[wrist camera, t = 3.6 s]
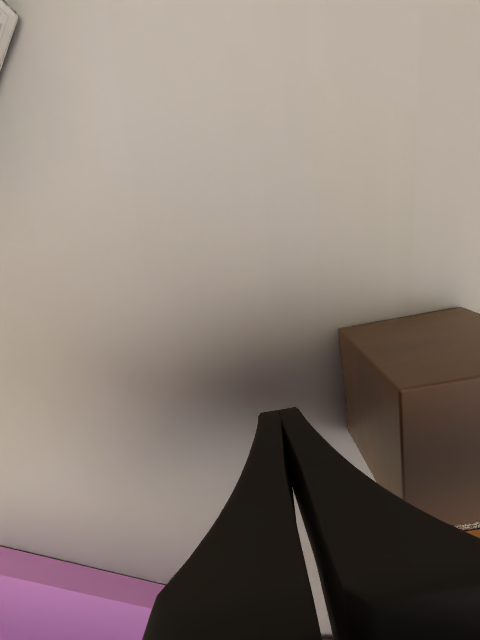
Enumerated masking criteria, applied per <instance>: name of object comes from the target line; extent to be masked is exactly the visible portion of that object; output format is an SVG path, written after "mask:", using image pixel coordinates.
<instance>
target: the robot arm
mask: <svg viewBox="0 0 480 640" xmlns="http://www.w3.org/2000/svg"><path fill="white" fill-rule="evenodd" d="M292 487H293V489H292ZM293 490H294V494H295V497H296V500H297V503H298V506H299V509H300V513H301V516H302V519H303V522H304V525H305V528H306V532H307V535H308V538H309V541H310V544H311V547H312V551H313V554H314V558H315V561H316V565H317V568H318V573H319V577H320V581H321V586H322V590H323V594H324V599H325V603H326V607H327V612H328V616H329V620H330V625H331V629H332V634H333V638H334V640H480V538H478V537H476V536H474V535H472V534H469V533H467V532H465V531H463V530H461V529H458V528H456V527H454V526H452V525H450V524H447V523H445V522H443V521H441V520H439V519H437V518H435V517H433V516H432V515H430V514H428V513H426V512H424V511H422V510H420V509H418V508H416V507H415V506H413V505H411V504H409V503H408V502H406V501H405V500H403V499H401V498H400V497H398V496H396V495H395V494H393V493H391V492H390V491H388V490H387V489H385V488H383V487H382V486H381V485H379V484H378V483H376V482H375V481H373V480H372V479H370V478H369V477H368V476H366V475H365V474H364V473H362V472H361V471H360V470H358V469H357V468H356V467H355V466H353V465H352V464H351V463H350V462H349V461H347V460H346V459H345V458H344V457H343V456H342V455H340V454H339V453H338V452H337V451H336V450H335V449H334V448H333V447H332V446H331V445H330V444H329V443H328V442H327V441H326V440H325V439H324V438H323V437H322V436H321V435H320V434H319V433H318V432H317V431H316V430H315V429H314V428H313V427H312V426H311V424H310V423H309V422H308V421H307V420H306V419H305V417H304V416H303V415H302V413H301V412H300V411H299V409H297V408H296V407H292V408H287V409H281V410H275V411H269V412H263V413H260V415H259V416H258V425H257V430H256V434H255V438H254V441H253V444H252V447H251V450H250V453H249V456H248V459H247V461H246V464H245V466H244V469H243V471H242V473H241V476H240V478H239V480H238V482H237V484H236V486H235V488H234V490H233V492H232V494H231V496H230V498H229V500H228V501H227V503H226V505H225V507H224V508H223V510H222V512H221V513H220V515H219V517H218V518H217V520H216V521H215V523H214V524H213V526H212V527H211V529H210V530H209V532H208V533H207V534H206V536H205V537H204V539H203V540H202V541H201V543H200V544H199V545H198V547H197V548H196V550H195V551H194V552H193V554H192V555H191V556H190V558H189V559H188V560H187V561H186V563H185V564H184V565H183V566H182V567H181V568H180V570H179V571H178V572H177V573H176V574H175V575H174V577H173V578H172V579H171V580H170V581H169V582H168V584H167V585H166V586H165V587H164V588H163V589H162V590H161V591H160V593H159V594H158V595H157V597H156V599H155V602H154V605H153V608H152V610H151V613H150V616H149V619H148V623H147V626H146V629H145V632H144V635H143V638H142V640H322V638H321V633H320V628H319V623H318V618H317V614H316V609H315V604H314V599H313V595H312V591H311V586H310V582H309V578H308V573H307V569H306V564H305V560H304V556H303V551H302V547H301V542H300V538H299V533H298V529H297V524H296V515H295V506H294V498H293ZM326 640H329V639H326Z"/></svg>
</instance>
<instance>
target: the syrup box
mask: <svg viewBox="0 0 480 640" xmlns="http://www.w3.org/2000/svg"><path fill="white" fill-rule="evenodd" d="M17 21H18V16H17V14H16V12H15V11H14V10H13V9H12V8H11V7H10V6H9V5H8V4H7V3H6V2H5V1H4V0H0V70H1V67H2V64H3V61H4V58H5V55H6V53H7V50H8V47H9V43H10V40H11V38H12V35H13V32H14V29H15V27H16V24H17Z"/></svg>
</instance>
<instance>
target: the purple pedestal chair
mask: <svg viewBox="0 0 480 640" xmlns="http://www.w3.org/2000/svg"><path fill="white" fill-rule="evenodd" d="M165 586H166V585H162V584H158V583H153V582H149V581H145V580H141V579H136V578H132V577H128V576H124V575H119V574H115V573H111V572H107V571H103V570H98V569H94V568H90V567H86V566H81V565H77V564H73V563H69V562H64V561H60V560H56V559H52V558H47V557H43V556H39V555H35V554H31V553H26V552H22V551H18V550H14V549H9V548H5V547H1V546H0V640H142V638H143V635H144V632H145V629H146V626H147V623H148V619H149V616H150V613H151V610H152V608H153V605H154V602H155V599H156V597H157V595H158V594H159V593H160V591H161V590H162V589H163V588H164V587H165Z"/></svg>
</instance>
